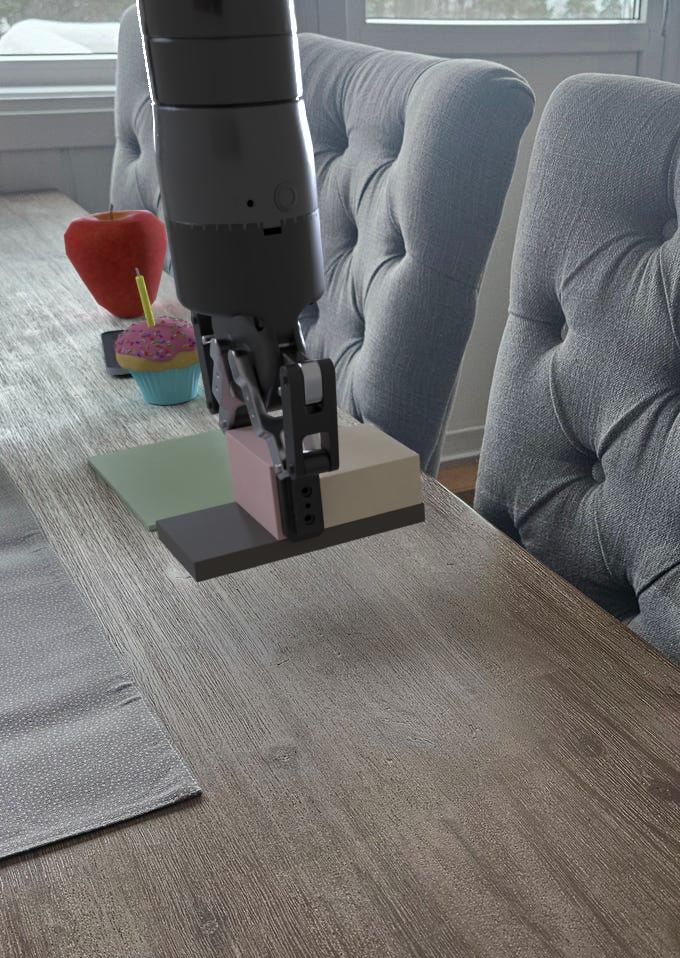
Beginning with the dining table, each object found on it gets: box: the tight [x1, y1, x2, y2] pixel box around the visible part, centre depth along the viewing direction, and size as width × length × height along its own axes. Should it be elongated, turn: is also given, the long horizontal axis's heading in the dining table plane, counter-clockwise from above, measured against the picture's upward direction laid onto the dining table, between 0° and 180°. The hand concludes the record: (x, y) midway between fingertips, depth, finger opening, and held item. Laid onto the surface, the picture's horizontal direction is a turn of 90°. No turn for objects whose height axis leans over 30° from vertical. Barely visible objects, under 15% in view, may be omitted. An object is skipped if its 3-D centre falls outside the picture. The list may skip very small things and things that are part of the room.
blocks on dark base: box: [156, 422, 426, 583], centre depth 64 cm, size 14×6×6 cm, turn 122°
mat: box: [86, 428, 236, 532], centre depth 89 cm, size 16×16×1 cm
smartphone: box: [100, 328, 131, 376], centre depth 116 cm, size 8×1×15 cm
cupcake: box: [114, 268, 202, 406], centre depth 101 cm, size 9×8×12 cm
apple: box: [63, 202, 169, 318], centre depth 127 cm, size 11×11×12 cm
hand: (278, 513), depth 64 cm, fingers closed on blocks on dark base, 6 cm apart
